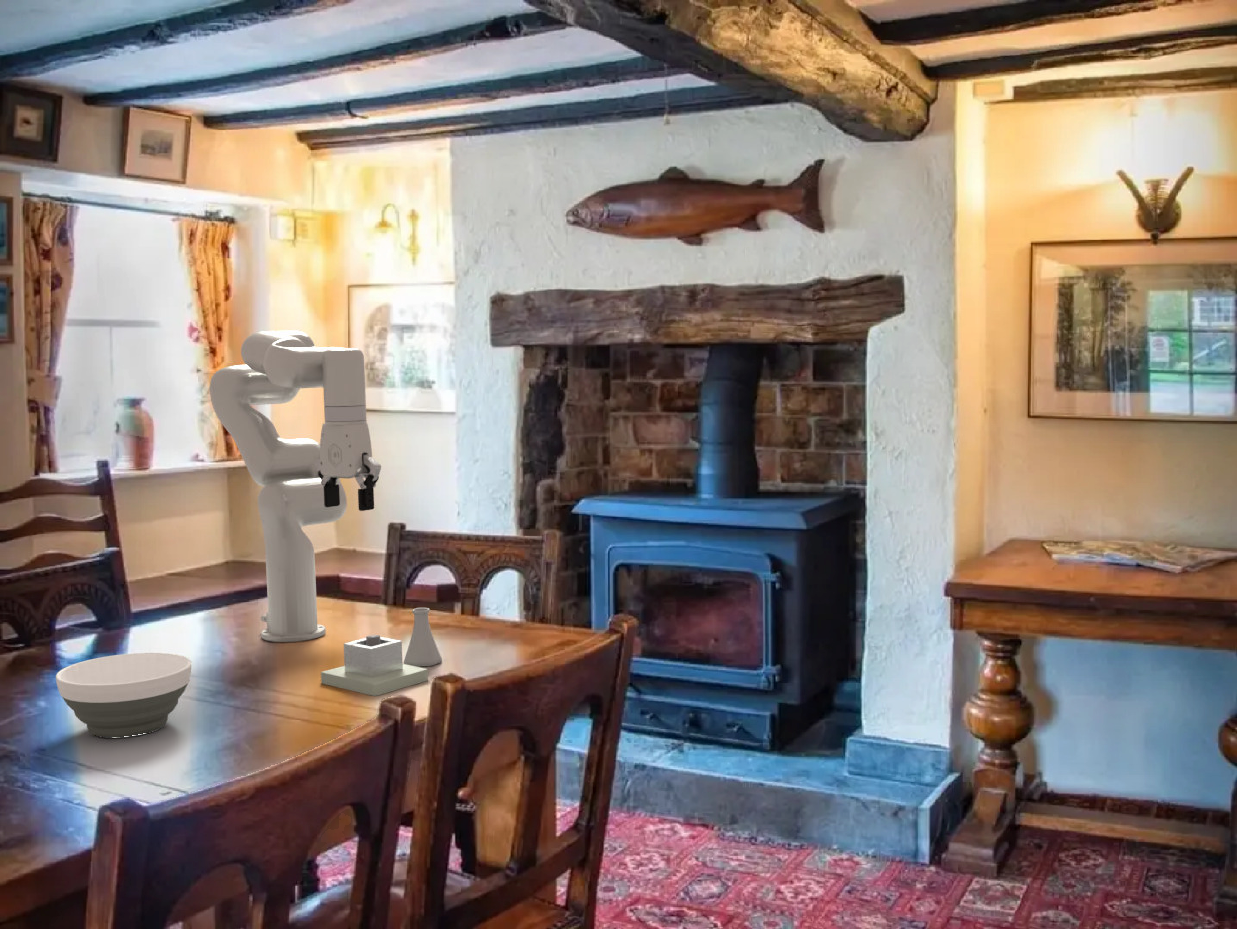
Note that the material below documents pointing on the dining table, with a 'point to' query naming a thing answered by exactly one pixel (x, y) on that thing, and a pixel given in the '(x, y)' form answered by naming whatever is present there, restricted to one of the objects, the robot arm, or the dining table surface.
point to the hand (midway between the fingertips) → (349, 508)
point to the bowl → (124, 691)
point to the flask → (422, 642)
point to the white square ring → (373, 657)
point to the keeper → (375, 684)
